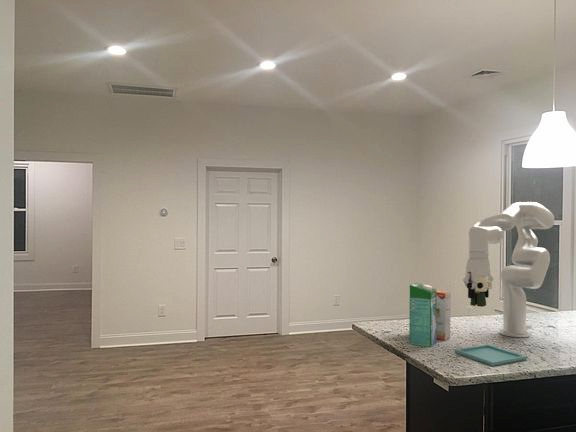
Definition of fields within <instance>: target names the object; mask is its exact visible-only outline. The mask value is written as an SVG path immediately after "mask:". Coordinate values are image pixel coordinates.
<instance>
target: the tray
mask: <svg viewBox="0 0 576 432" xmlns="http://www.w3.org/2000/svg"><path fill="white" fill-rule="evenodd" d="M454 354H456V355H458V356H461V355H462V357H463V358H464V357H465V358H467V359H470V360H473V361H475V362H479V363H482V364H484V365H487V366H491V367H499V366H504V365H509V364H514V363H515V364H516V363H519V362H525V361H528V356H527V355H524V354H522V353H518V352H514V351H510V350H507V349H504V348H501V347H497V346H495V345H491V344H488V343H487V344H482V345H475V346H469V347H468V346H467V347H462V348H455V349H454Z"/></svg>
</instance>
